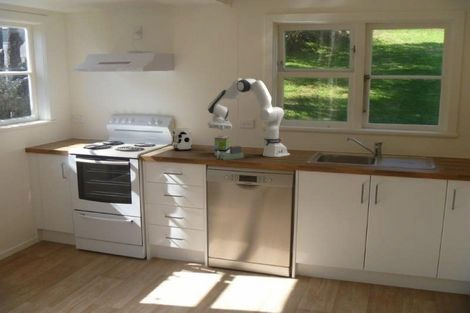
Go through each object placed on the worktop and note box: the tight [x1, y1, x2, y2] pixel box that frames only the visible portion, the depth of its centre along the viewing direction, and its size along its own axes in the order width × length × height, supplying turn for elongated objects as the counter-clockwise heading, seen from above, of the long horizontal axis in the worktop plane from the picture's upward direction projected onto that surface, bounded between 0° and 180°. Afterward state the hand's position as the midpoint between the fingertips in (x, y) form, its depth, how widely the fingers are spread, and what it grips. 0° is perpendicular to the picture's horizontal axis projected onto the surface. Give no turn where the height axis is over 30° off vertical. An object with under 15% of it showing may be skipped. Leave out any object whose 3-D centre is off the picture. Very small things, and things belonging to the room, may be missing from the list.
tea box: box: [214, 135, 231, 157], centre depth 374 cm, size 15×10×15 cm, turn 168°
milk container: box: [172, 127, 193, 151], centre depth 396 cm, size 17×17×18 cm
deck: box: [216, 145, 245, 161], centre depth 357 cm, size 20×9×9 cm, turn 119°
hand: (221, 128), depth 384 cm, fingers closed
